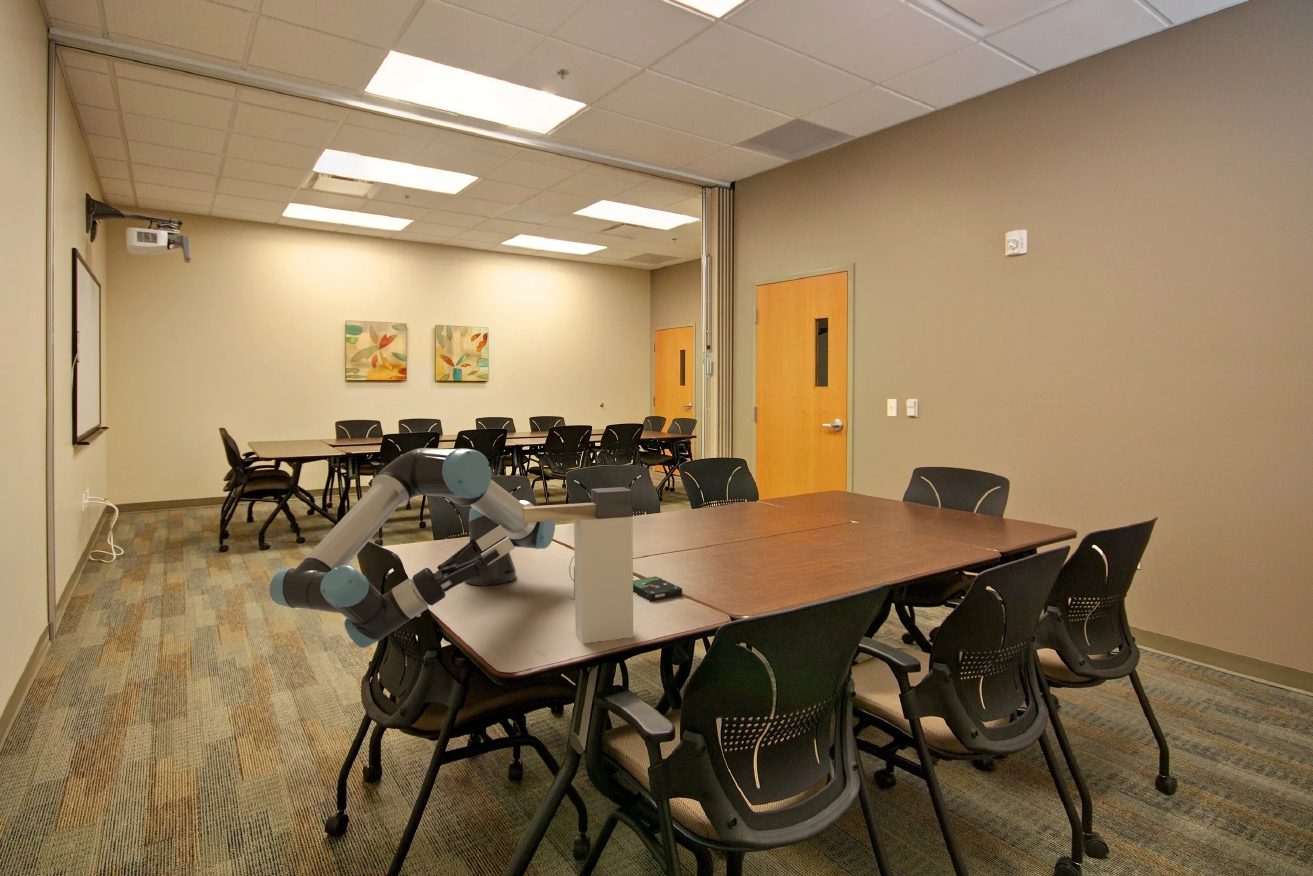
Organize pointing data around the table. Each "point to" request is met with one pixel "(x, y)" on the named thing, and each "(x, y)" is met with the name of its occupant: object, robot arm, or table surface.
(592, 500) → the mallet
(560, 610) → the table surface
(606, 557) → the stand
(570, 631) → the table surface
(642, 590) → the disk drive
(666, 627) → the table surface
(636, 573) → the table surface
